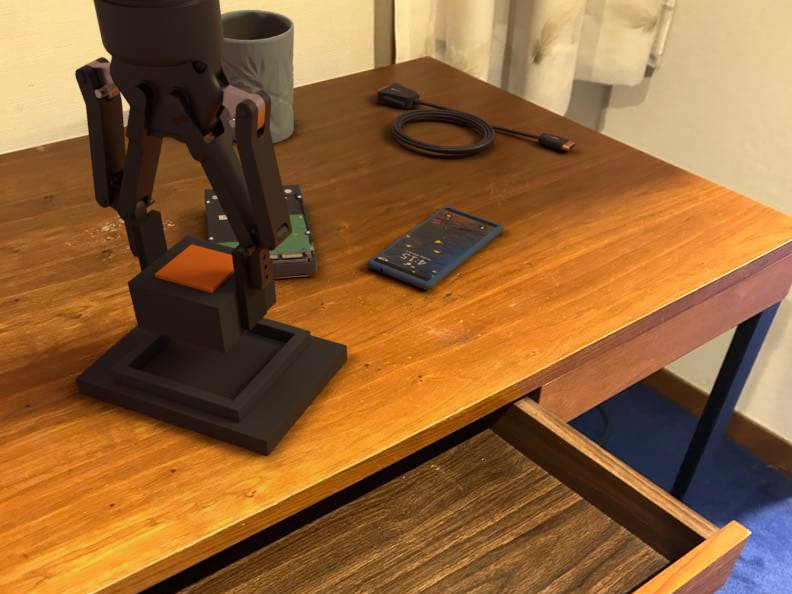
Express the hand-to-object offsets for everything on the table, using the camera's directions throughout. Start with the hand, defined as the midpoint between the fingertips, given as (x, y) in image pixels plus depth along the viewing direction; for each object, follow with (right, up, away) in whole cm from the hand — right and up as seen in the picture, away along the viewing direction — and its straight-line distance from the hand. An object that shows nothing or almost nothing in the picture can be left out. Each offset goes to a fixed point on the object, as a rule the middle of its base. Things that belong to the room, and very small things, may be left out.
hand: (207, 307), depth 68 cm
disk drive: (+1, +12, +20) cm, 24 cm away
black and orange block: (0, 0, +1) cm, 1 cm away
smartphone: (+19, +11, +20) cm, 30 cm away
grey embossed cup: (-2, +32, +39) cm, 51 cm away
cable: (+22, +32, +39) cm, 55 cm away
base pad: (0, -4, +5) cm, 7 cm away
